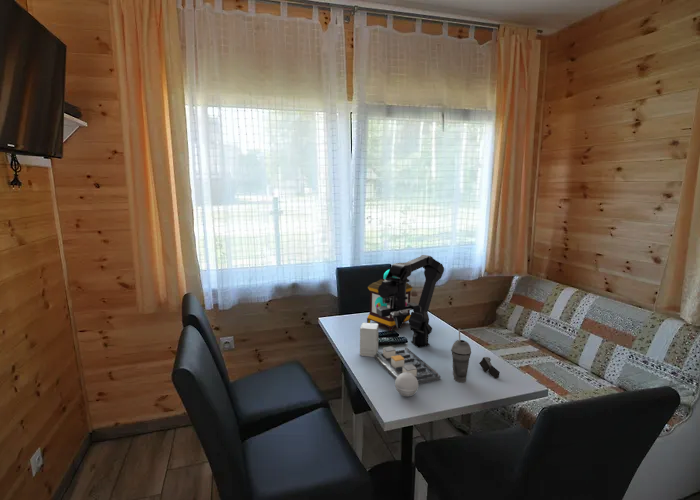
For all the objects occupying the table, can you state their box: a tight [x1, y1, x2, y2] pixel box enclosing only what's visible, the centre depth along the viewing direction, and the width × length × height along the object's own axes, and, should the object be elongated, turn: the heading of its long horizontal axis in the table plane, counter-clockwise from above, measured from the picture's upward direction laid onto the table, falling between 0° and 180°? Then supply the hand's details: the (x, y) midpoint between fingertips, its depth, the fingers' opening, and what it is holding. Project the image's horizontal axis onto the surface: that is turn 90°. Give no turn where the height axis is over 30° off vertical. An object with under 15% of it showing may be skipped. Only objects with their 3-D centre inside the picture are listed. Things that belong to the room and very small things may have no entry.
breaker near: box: [402, 364, 417, 376], centre depth 138 cm, size 4×4×3 cm
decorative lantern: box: [366, 268, 413, 332], centre depth 193 cm, size 20×20×30 cm
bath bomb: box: [394, 372, 419, 398], centre depth 128 cm, size 8×8×8 cm
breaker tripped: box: [391, 355, 404, 368], centre depth 145 cm, size 4×4×3 cm
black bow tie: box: [478, 356, 501, 379], centre depth 143 cm, size 9×2×6 cm
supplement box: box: [359, 322, 379, 358], centre depth 160 cm, size 7×7×13 cm
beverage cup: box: [450, 328, 472, 383], centre depth 137 cm, size 7×7×20 cm
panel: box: [374, 347, 441, 385], centre depth 147 cm, size 16×25×2 cm, turn 21°
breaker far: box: [382, 346, 397, 358], centre depth 153 cm, size 4×4×3 cm
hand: (398, 328), depth 157 cm, fingers closed
